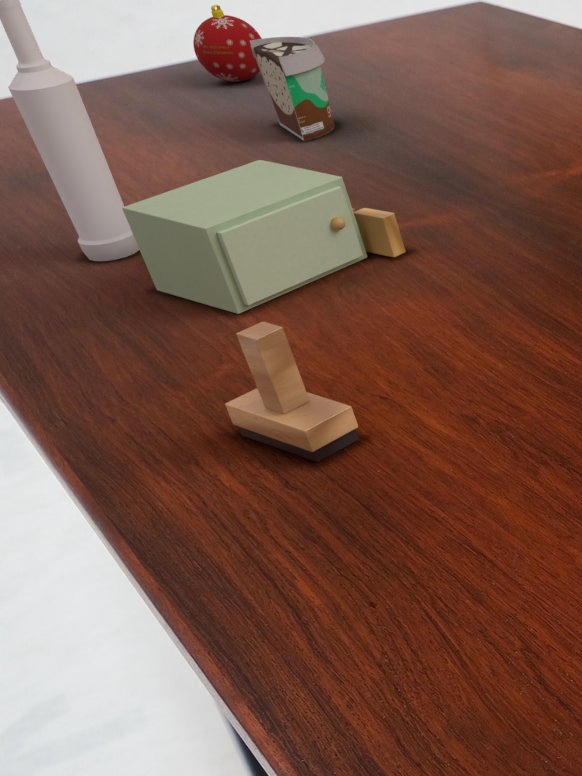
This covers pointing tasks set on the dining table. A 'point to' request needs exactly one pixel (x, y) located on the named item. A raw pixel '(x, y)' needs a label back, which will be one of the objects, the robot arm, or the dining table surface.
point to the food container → (295, 84)
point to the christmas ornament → (226, 47)
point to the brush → (287, 401)
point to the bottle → (67, 144)
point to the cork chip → (379, 232)
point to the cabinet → (246, 234)
